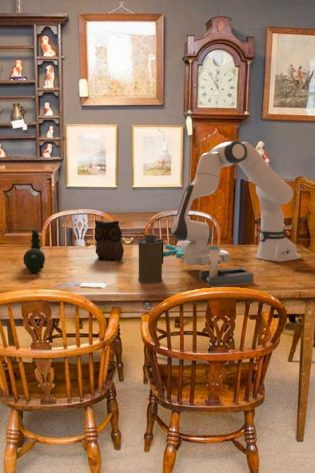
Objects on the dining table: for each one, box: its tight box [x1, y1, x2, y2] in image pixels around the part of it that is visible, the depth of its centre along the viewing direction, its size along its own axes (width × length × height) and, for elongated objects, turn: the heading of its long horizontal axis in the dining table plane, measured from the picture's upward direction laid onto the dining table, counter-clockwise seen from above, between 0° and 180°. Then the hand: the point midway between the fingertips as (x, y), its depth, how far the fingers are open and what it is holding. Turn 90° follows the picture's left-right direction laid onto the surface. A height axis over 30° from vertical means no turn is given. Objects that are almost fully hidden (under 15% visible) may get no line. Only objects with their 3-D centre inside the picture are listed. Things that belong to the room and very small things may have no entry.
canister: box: [137, 233, 164, 284], centre depth 217 cm, size 11×10×20 cm
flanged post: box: [207, 244, 220, 282], centre depth 214 cm, size 6×6×15 cm
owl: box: [94, 219, 125, 263], centre depth 251 cm, size 13×13×20 cm
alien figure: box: [163, 243, 184, 258], centre depth 268 cm, size 20×2×20 cm
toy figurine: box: [22, 228, 46, 275], centre depth 233 cm, size 9×19×25 cm
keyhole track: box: [198, 266, 255, 288], centre depth 217 cm, size 20×12×4 cm, turn 109°
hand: (214, 262), depth 213 cm, fingers closed on flanged post, 3 cm apart
